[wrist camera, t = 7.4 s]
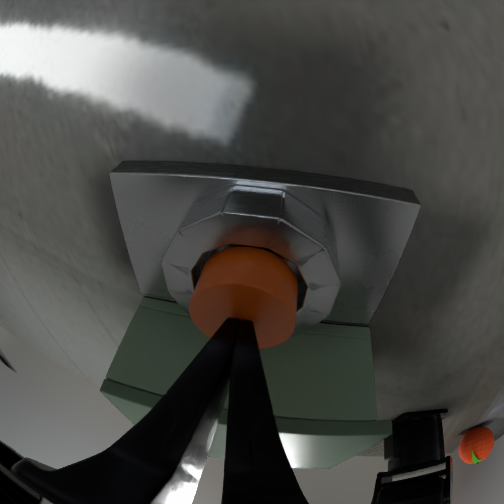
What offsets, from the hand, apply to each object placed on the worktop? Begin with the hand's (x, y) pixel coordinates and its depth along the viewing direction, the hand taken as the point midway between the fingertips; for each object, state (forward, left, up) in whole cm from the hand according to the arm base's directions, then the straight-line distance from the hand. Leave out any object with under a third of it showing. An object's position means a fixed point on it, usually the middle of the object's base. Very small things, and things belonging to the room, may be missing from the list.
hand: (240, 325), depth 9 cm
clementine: (-39, +33, -5) cm, 52 cm away
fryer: (0, +11, -5) cm, 12 cm away
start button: (0, 0, -2) cm, 2 cm away
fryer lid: (0, +11, +1) cm, 11 cm away
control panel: (0, 0, -5) cm, 5 cm away
